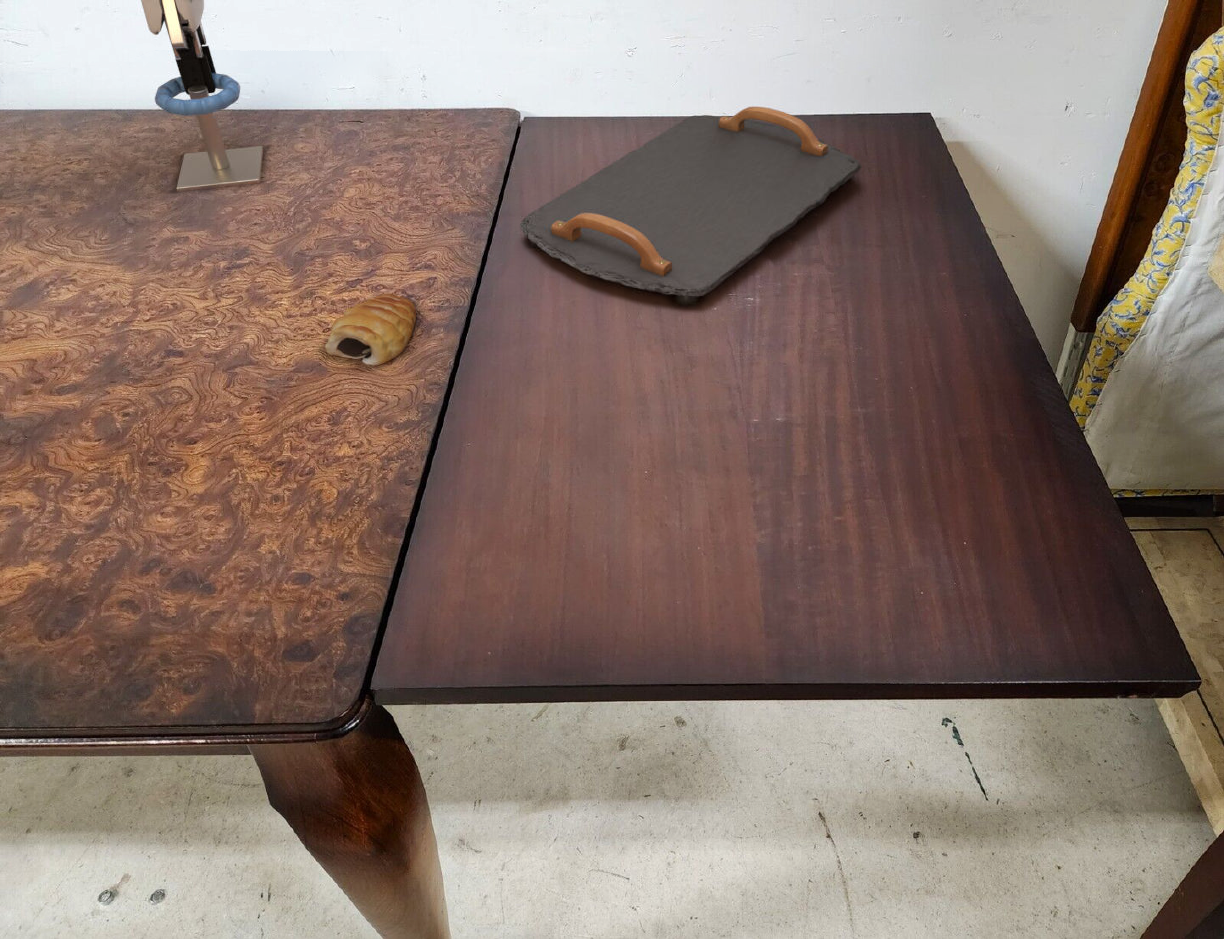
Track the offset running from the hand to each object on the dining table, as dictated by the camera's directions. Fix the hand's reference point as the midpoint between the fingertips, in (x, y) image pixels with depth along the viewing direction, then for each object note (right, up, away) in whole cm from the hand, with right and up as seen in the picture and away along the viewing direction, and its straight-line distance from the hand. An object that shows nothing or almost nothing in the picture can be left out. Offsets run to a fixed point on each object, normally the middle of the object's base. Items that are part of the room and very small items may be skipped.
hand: (202, 86), depth 110 cm
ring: (+1, -2, -3) cm, 3 cm away
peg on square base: (+1, -9, +4) cm, 10 cm away
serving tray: (+55, -16, -5) cm, 58 cm away
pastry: (+25, -32, -21) cm, 46 cm away
